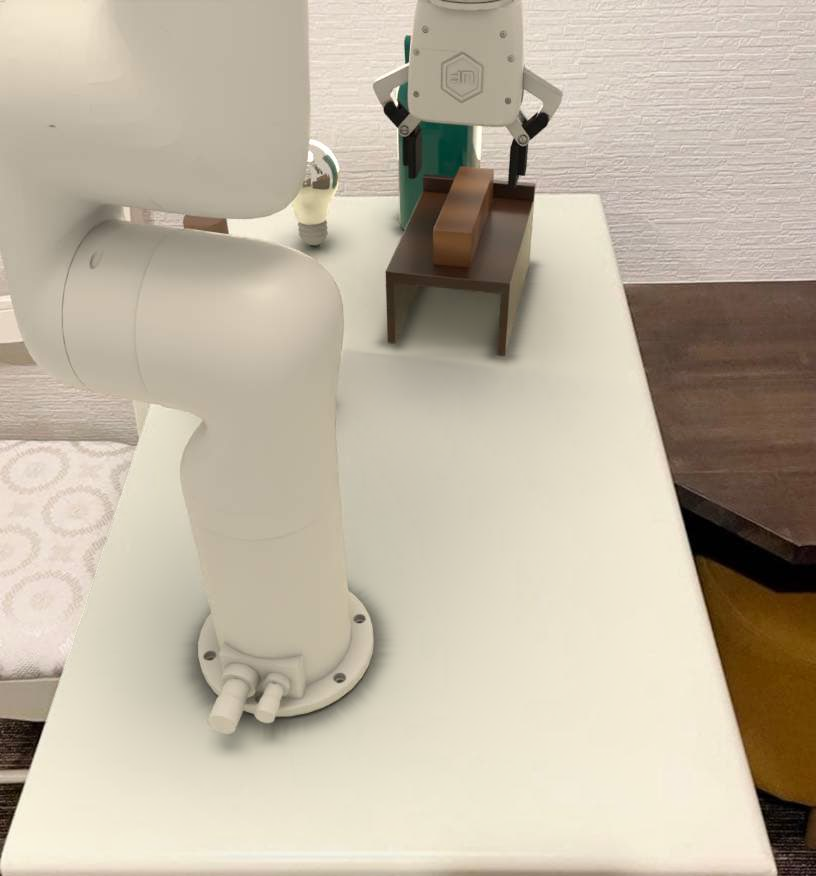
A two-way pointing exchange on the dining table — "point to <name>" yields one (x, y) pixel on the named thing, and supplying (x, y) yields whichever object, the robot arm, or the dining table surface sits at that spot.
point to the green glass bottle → (434, 152)
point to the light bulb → (316, 194)
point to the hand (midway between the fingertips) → (464, 177)
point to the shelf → (493, 263)
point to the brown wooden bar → (463, 217)
